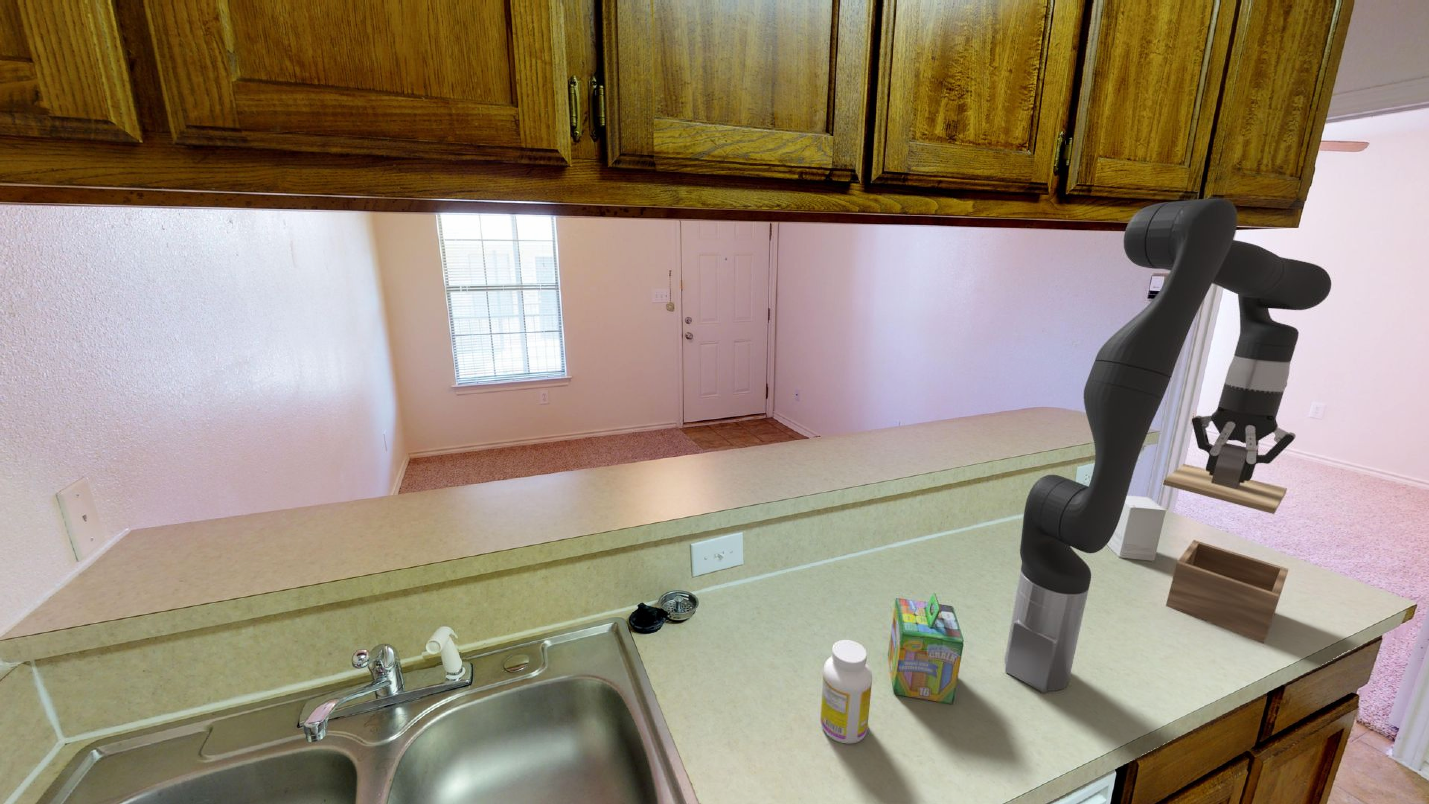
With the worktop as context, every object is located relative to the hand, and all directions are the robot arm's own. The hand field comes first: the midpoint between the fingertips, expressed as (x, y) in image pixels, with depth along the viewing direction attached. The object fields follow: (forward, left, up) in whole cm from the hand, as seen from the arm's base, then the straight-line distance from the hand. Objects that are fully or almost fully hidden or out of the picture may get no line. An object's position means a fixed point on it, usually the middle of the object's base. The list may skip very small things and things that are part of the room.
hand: (1227, 477), depth 99 cm
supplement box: (+18, +15, -28) cm, 37 cm away
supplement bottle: (-74, +26, -28) cm, 83 cm away
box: (+6, -3, -28) cm, 29 cm away
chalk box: (-57, +24, -28) cm, 68 cm away
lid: (0, 0, -2) cm, 2 cm away
